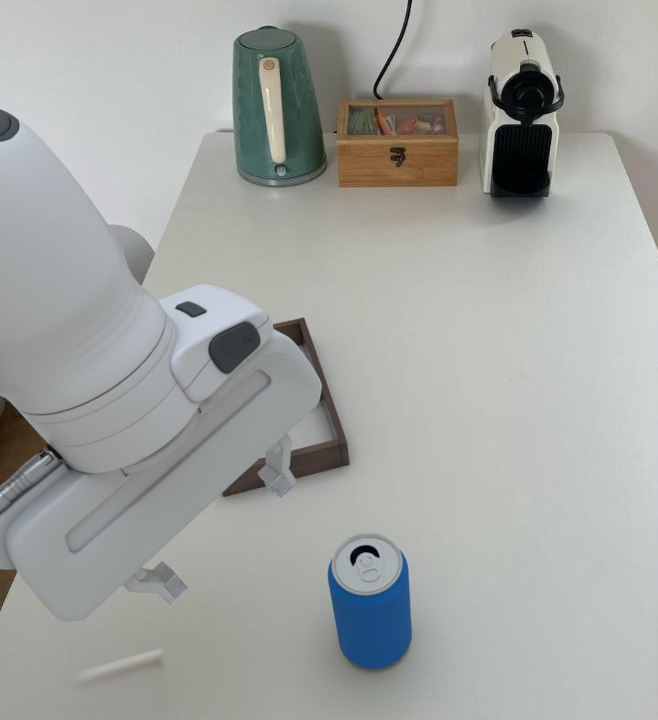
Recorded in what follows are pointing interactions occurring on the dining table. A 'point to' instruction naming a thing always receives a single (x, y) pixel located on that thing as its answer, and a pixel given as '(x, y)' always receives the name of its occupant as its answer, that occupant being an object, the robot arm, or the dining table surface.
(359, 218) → the dining table surface
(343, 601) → the beverage can
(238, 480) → the tray
